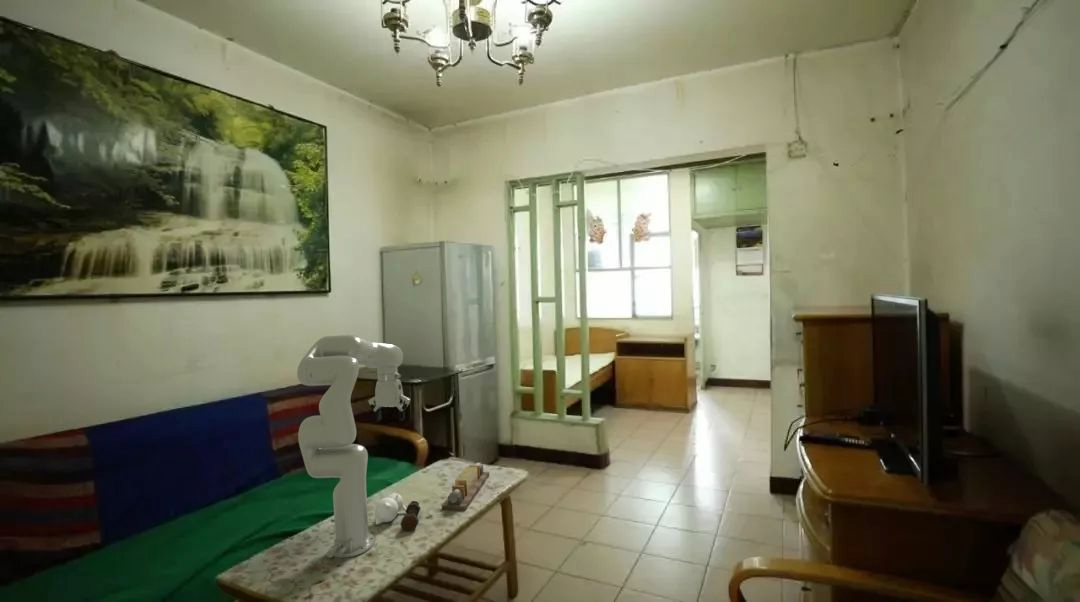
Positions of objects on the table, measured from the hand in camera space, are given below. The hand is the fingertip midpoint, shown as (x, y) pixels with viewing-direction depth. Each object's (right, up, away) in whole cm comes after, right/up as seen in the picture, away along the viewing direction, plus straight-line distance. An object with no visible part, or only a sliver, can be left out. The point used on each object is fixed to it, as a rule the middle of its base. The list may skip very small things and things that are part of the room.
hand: (390, 420), depth 177 cm
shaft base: (+31, -27, -3) cm, 41 cm away
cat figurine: (+8, -29, -21) cm, 36 cm away
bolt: (+15, -28, -23) cm, 40 cm away
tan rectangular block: (+31, -25, -3) cm, 40 cm away
